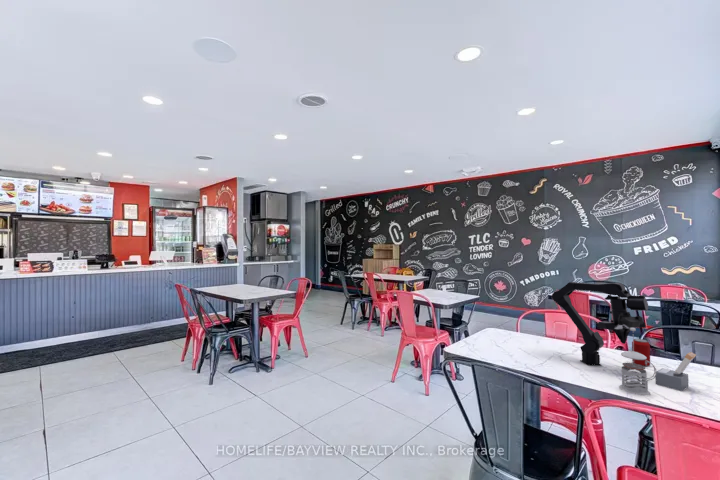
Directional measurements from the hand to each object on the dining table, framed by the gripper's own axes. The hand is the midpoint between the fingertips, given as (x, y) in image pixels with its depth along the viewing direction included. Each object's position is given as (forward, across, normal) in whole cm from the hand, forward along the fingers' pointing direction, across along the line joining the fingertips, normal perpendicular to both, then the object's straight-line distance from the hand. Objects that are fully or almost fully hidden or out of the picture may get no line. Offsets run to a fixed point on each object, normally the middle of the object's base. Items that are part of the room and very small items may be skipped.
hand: (623, 343), depth 149 cm
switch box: (+15, +7, -14) cm, 21 cm away
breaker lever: (+9, +8, -16) cm, 20 cm away
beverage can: (+14, +16, +11) cm, 24 cm away
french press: (+14, -13, -19) cm, 27 cm away
